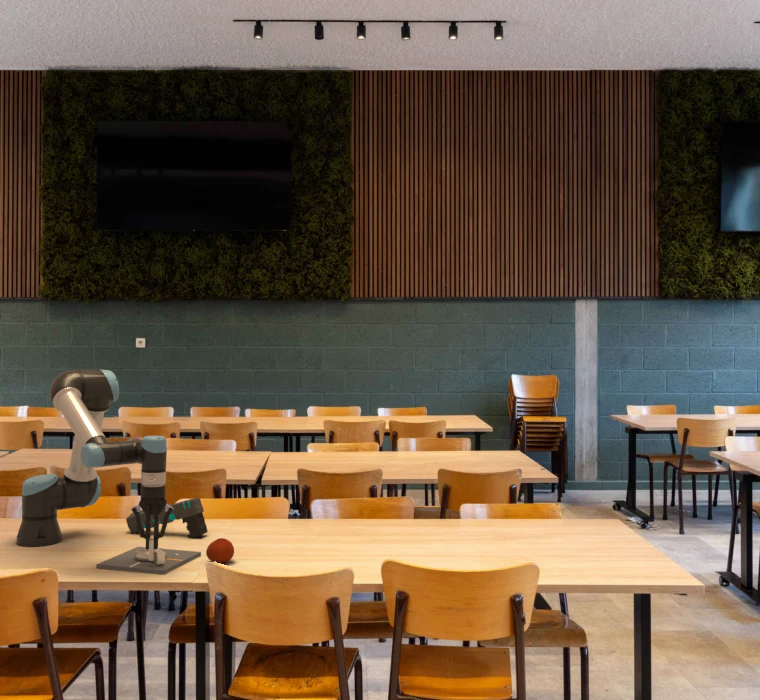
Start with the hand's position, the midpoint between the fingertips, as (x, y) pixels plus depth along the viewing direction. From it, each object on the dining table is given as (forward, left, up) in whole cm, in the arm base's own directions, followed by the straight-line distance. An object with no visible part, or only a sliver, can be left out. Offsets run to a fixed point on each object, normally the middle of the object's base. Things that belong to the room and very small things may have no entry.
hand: (151, 559), depth 258 cm
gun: (-20, +43, -3) cm, 48 cm away
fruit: (+17, +14, -3) cm, 22 cm away
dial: (-3, +6, -2) cm, 7 cm away
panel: (-5, +8, -3) cm, 10 cm away
